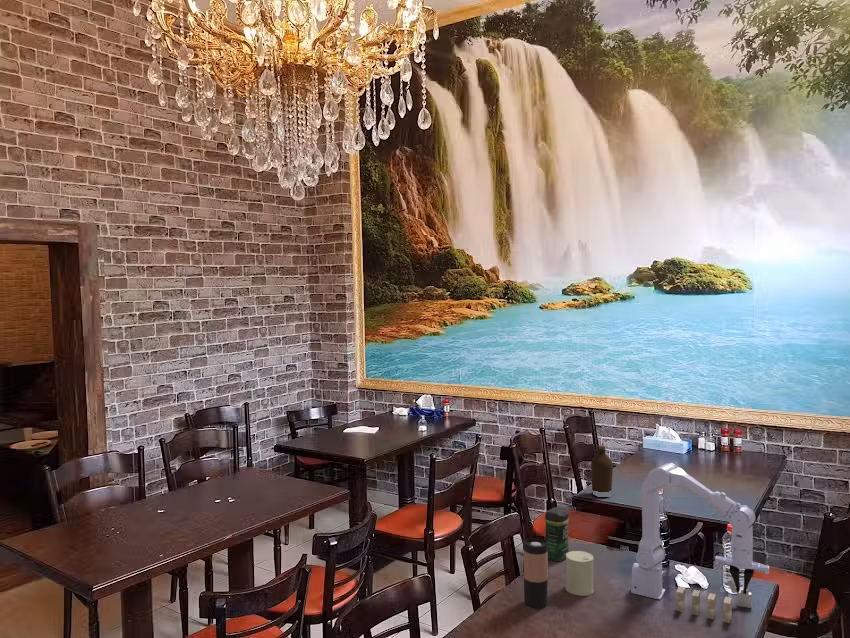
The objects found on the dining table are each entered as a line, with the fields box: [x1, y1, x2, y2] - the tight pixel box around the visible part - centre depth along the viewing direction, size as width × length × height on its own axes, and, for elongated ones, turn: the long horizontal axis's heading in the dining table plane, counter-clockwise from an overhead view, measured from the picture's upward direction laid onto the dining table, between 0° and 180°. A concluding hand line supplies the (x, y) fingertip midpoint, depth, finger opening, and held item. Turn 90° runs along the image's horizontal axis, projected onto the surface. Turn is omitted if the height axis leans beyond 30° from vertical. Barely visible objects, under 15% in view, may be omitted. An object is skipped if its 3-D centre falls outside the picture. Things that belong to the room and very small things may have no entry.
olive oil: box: [590, 444, 614, 492], centre depth 316 cm, size 11×11×25 cm
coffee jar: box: [544, 506, 570, 562], centre depth 241 cm, size 10×8×19 cm
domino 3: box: [706, 592, 717, 620], centre depth 196 cm, size 2×4×6 cm, turn 148°
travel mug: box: [523, 537, 549, 610], centre depth 204 cm, size 8×8×20 cm
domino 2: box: [691, 589, 701, 616], centre depth 199 cm, size 2×4×6 cm, turn 148°
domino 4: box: [722, 596, 733, 624], centre depth 194 cm, size 2×4×6 cm, turn 148°
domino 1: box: [675, 585, 686, 613], centre depth 201 cm, size 2×4×6 cm, turn 148°
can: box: [565, 550, 595, 597], centre depth 214 cm, size 9×9×12 cm
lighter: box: [726, 577, 752, 609], centre depth 203 cm, size 7×2×8 cm, turn 66°
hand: (741, 591), depth 192 cm, fingers closed
